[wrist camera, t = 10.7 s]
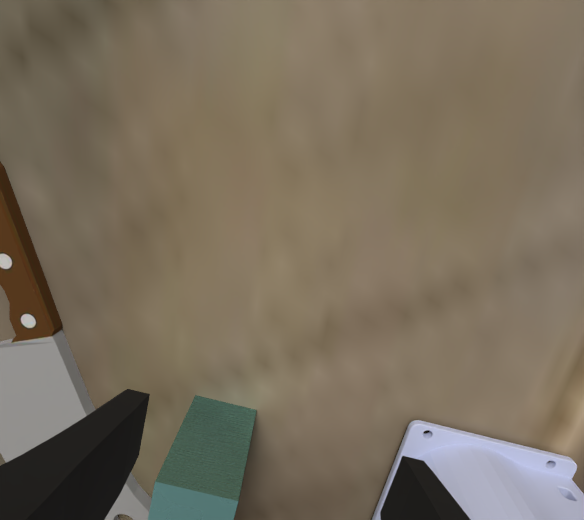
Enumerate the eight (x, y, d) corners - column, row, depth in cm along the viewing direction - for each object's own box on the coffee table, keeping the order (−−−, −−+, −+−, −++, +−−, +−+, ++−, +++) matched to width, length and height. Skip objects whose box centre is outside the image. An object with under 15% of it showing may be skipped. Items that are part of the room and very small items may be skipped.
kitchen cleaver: (-163, 180, 19) (20, 138, 18) (-139, 179, 20) (36, 138, 19) (23, 559, 25) (168, 549, 24) (34, 543, 26) (174, 533, 25)
